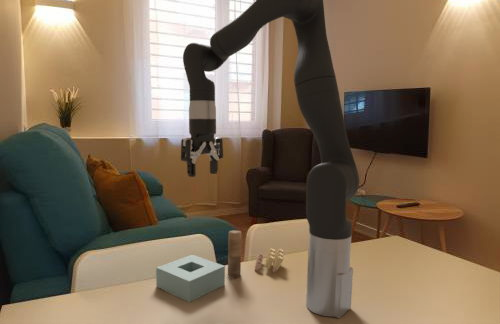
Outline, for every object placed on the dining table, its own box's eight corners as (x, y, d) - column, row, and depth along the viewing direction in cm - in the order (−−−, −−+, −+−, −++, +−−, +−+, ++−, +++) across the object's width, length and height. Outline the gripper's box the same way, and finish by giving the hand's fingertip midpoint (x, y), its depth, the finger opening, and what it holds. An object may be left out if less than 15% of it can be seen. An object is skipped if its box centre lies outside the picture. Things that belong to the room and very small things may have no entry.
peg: (243, 275, 102) (243, 232, 101) (234, 279, 100) (235, 235, 98) (233, 271, 104) (234, 229, 103) (225, 275, 102) (225, 232, 100)
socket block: (224, 284, 96) (224, 266, 95) (189, 302, 87) (189, 281, 86) (192, 272, 103) (192, 254, 103) (156, 286, 94) (156, 267, 93)
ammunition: (284, 248, 111) (256, 246, 111) (283, 257, 103) (254, 255, 104) (283, 263, 111) (256, 262, 112) (283, 274, 104) (254, 272, 105)
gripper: (192, 117, 98) (193, 179, 99) (229, 118, 109) (229, 173, 110) (173, 117, 102) (174, 176, 104) (210, 118, 114) (211, 171, 115)
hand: (203, 175), depth 107 cm, fingers open, 8 cm apart
